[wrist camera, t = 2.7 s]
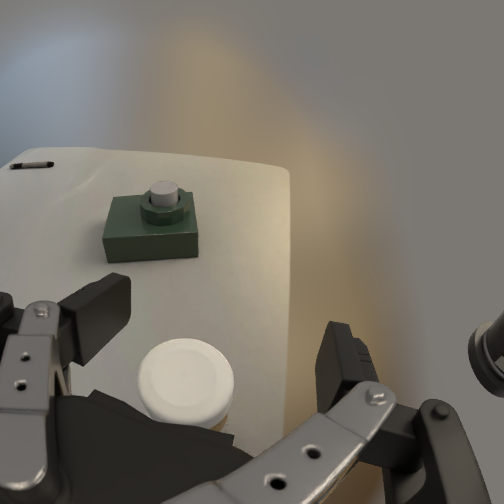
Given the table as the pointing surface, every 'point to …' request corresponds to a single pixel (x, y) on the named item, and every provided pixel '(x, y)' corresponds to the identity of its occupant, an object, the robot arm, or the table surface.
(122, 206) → the push button box
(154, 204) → the grey short cylinder
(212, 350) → the sprinkles bottle
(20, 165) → the pen
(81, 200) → the table surface
